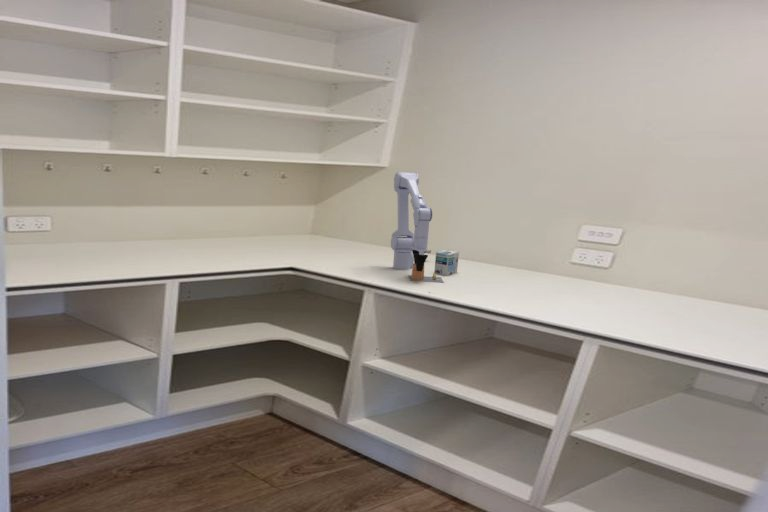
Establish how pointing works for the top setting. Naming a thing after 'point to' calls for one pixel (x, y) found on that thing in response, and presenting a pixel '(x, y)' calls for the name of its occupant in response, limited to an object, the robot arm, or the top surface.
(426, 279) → the faceplate
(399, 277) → the top surface
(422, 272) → the knob
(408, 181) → the robot arm
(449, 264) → the light bulb box
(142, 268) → the top surface
